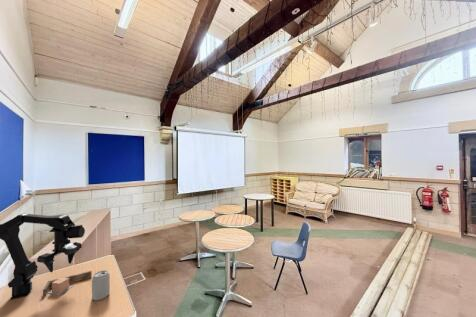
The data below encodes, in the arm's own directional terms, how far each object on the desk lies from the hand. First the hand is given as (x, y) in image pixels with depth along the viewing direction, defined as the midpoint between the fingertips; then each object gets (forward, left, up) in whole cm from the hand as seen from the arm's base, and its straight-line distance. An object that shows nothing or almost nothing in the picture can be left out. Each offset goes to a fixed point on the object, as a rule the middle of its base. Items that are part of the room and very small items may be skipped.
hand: (61, 267), depth 108 cm
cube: (0, 0, -12) cm, 12 cm away
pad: (0, 0, -12) cm, 12 cm away
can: (+19, -19, -12) cm, 30 cm away
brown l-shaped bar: (+3, +3, -12) cm, 13 cm away
